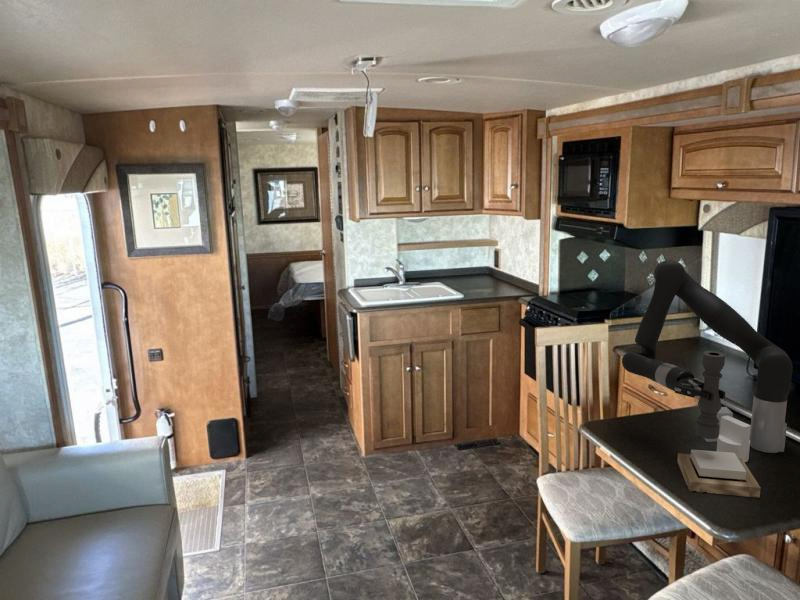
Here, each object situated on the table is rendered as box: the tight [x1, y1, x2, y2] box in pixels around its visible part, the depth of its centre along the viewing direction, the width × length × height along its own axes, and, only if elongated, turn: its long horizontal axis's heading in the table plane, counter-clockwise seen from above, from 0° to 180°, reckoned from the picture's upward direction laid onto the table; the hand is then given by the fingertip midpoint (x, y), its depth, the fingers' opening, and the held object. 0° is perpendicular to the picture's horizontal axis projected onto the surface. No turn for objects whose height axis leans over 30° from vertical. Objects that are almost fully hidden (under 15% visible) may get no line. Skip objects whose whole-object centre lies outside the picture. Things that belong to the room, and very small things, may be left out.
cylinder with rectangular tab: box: [716, 416, 751, 464], centre depth 192 cm, size 9×9×12 cm
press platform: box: [690, 449, 746, 480], centre depth 179 cm, size 12×12×2 cm
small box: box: [703, 406, 734, 443], centre depth 205 cm, size 8×6×10 cm
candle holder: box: [695, 350, 726, 439], centre depth 178 cm, size 6×6×25 cm
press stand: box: [677, 452, 762, 499], centre depth 179 cm, size 18×18×3 cm
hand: (718, 396), depth 175 cm, fingers closed on candle holder, 3 cm apart
